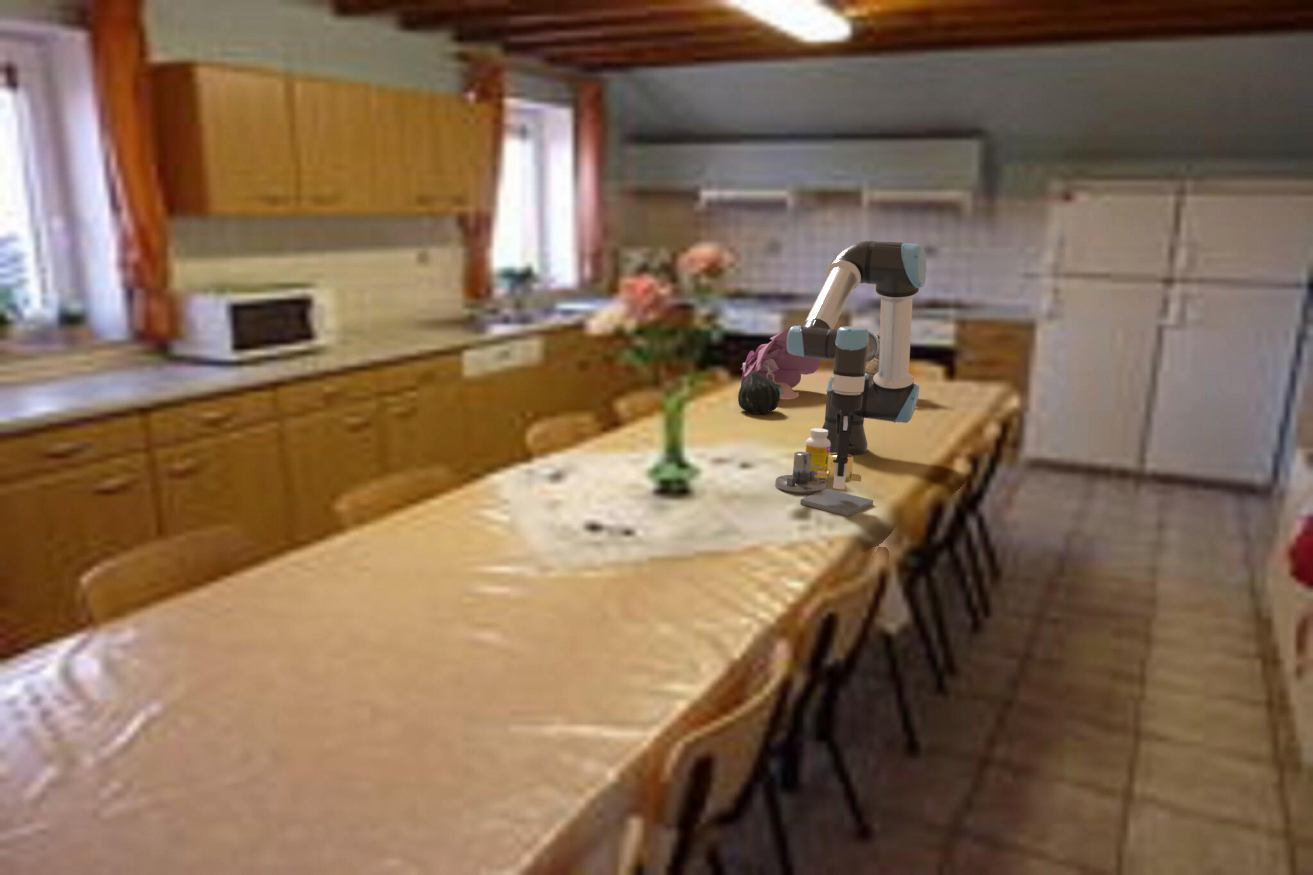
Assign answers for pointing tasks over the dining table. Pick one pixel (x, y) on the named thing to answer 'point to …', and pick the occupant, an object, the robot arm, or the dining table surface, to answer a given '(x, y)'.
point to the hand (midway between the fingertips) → (838, 484)
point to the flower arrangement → (779, 365)
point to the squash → (758, 394)
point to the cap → (831, 469)
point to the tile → (836, 502)
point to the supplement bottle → (818, 449)
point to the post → (801, 477)
